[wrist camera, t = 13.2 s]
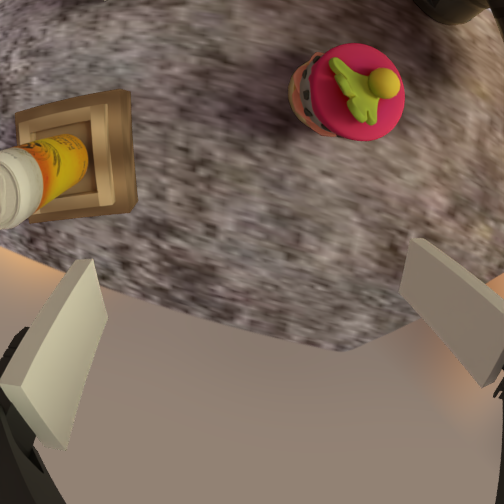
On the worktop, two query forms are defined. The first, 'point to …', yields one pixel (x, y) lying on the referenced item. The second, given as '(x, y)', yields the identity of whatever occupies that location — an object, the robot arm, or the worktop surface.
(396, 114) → the cake
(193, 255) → the worktop surface
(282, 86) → the worktop surface
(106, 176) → the stand
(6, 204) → the beer can
